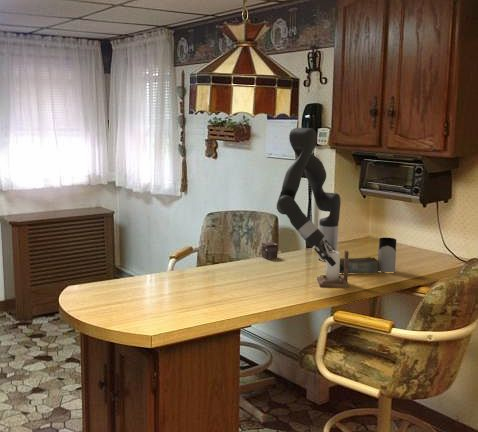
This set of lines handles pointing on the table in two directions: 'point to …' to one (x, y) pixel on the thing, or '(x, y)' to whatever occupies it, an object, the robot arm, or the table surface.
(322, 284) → the walnut holder
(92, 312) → the table surface
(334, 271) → the paper roll
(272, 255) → the box
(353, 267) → the beverage carton
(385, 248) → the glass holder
